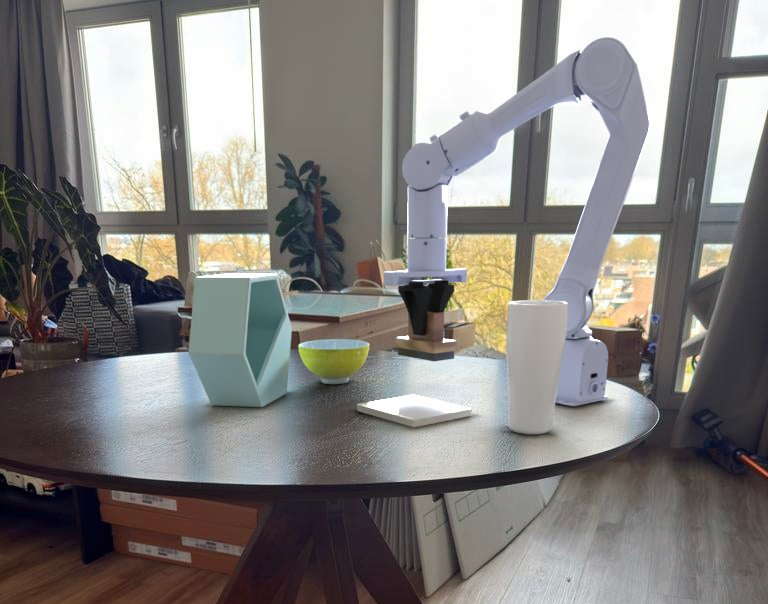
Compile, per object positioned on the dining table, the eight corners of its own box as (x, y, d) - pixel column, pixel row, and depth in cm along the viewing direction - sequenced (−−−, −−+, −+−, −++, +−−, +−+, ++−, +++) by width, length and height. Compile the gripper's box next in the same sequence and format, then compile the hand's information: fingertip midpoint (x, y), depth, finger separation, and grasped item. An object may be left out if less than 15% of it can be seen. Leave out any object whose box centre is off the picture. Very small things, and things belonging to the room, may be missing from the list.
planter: (272, 434, 105) (231, 320, 89) (222, 431, 107) (173, 318, 90) (299, 355, 115) (267, 239, 98) (253, 353, 116) (214, 239, 100)
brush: (456, 358, 109) (457, 312, 106) (433, 361, 106) (434, 314, 104) (417, 352, 115) (418, 308, 113) (395, 354, 113) (395, 310, 110)
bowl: (339, 391, 111) (337, 350, 109) (285, 383, 118) (283, 344, 116) (383, 380, 120) (383, 342, 118) (331, 373, 126) (330, 337, 124)
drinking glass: (546, 440, 83) (556, 305, 78) (492, 432, 87) (498, 303, 81) (566, 427, 89) (576, 301, 83) (514, 421, 92) (521, 299, 87)
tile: (471, 415, 95) (472, 408, 95) (413, 427, 89) (413, 419, 89) (413, 401, 104) (413, 394, 104) (357, 411, 98) (356, 404, 98)
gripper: (445, 238, 112) (444, 328, 117) (370, 238, 104) (371, 335, 108) (477, 237, 107) (474, 332, 111) (401, 238, 98) (401, 340, 103)
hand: (425, 334), depth 109 cm, fingers closed on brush, 2 cm apart
